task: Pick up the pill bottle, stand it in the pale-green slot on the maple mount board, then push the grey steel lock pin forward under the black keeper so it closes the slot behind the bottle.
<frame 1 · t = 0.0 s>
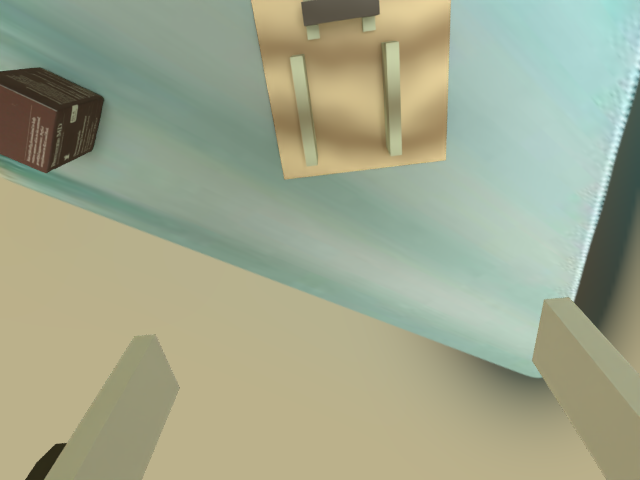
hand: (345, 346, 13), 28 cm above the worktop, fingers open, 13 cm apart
mount: (353, 45, 33), on the worktop
box: (69, 110, 37), on the worktop
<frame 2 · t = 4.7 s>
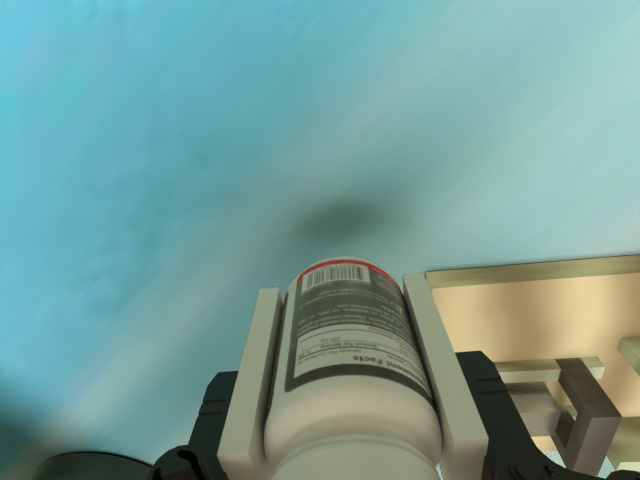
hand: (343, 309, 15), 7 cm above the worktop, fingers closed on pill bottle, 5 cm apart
pill bottle: (343, 299, 15), point 7 cm above the worktop, touching gripper
lock pin: (490, 408, 24), point 3 cm above the worktop, slide at 0.0 cm
mount: (592, 356, 25), on the worktop
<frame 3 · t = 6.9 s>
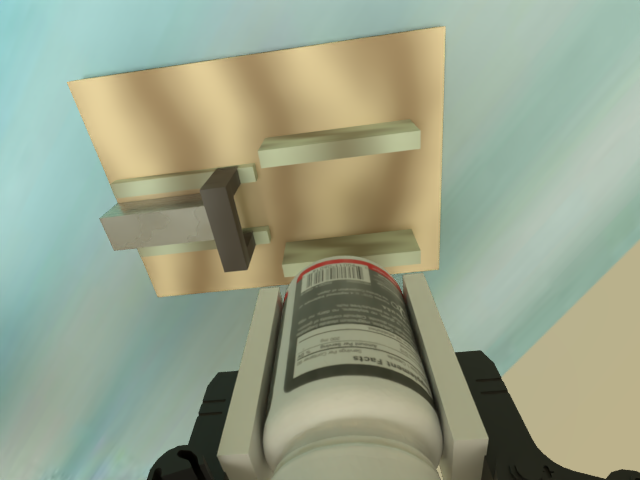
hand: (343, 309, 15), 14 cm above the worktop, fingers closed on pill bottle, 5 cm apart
pill bottle: (343, 298, 15), point 13 cm above the worktop, touching gripper
lock pin: (165, 220, 25), point 3 cm above the worktop, slide at 0.0 cm
mount: (277, 178, 27), on the worktop
when the fingers open (3 cm above the worktop, at t = 9.0 s): pill bottle stays where it is, resting on mount.
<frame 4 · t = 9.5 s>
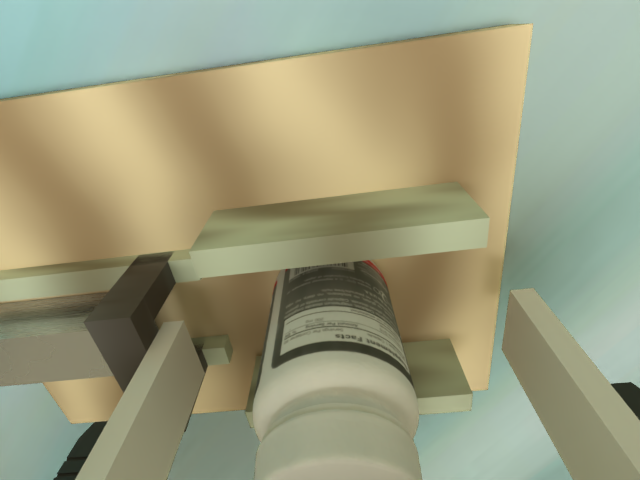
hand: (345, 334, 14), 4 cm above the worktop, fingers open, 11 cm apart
pill bottle: (330, 287, 16), point 1 cm above the worktop, touching mount
lock pin: (58, 338, 16), point 3 cm above the worktop, slide at 0.0 cm
mount: (241, 261, 17), on the worktop
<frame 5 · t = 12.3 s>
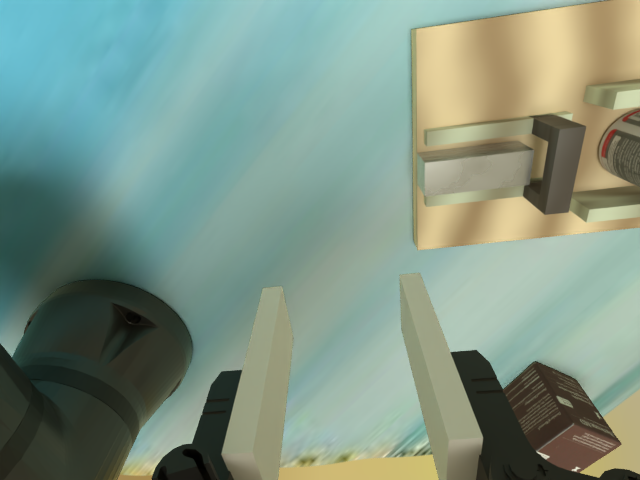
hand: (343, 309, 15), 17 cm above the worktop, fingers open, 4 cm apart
pill bottle: (630, 141, 27), point 1 cm above the worktop, touching mount
lock pin: (471, 168, 26), point 3 cm above the worktop, slide at 0.0 cm
mount: (563, 130, 28), on the worktop
box: (534, 385, 41), on the worktop
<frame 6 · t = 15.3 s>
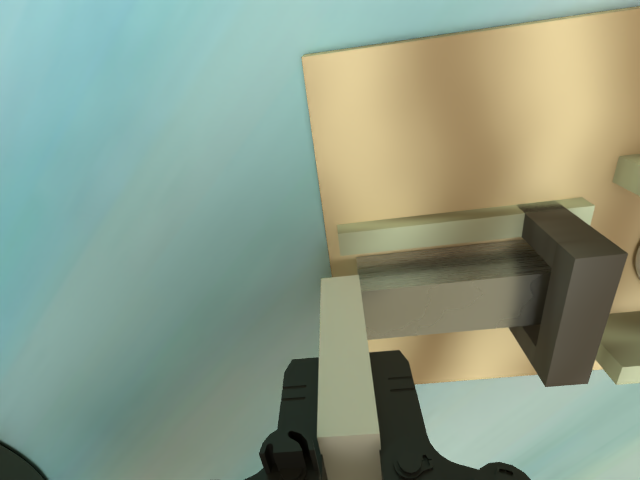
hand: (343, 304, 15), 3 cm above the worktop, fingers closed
lock pin: (447, 288, 15), point 3 cm above the worktop, slide at 1.1 cm, touching gripper
mount: (575, 218, 17), on the worktop
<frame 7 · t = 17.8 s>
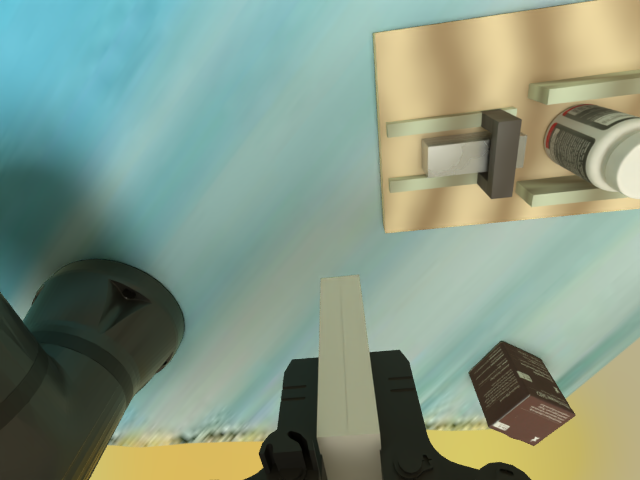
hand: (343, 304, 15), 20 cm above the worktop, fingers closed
pill bottle: (573, 133, 29), point 1 cm above the worktop, touching mount
lock pin: (470, 152, 29), point 3 cm above the worktop, slide at 3.2 cm
mount: (514, 124, 31), on the worktop
box: (502, 364, 44), on the worktop
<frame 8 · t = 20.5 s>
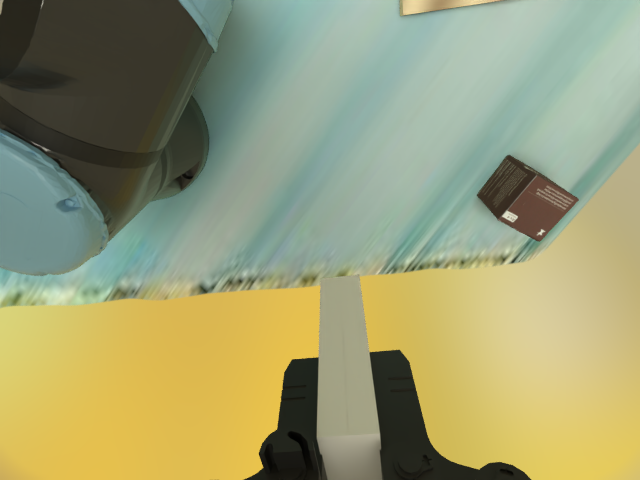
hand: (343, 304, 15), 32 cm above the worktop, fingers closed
box: (509, 185, 47), on the worktop
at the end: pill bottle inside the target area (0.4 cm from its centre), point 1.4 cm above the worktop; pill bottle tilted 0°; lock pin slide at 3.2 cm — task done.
